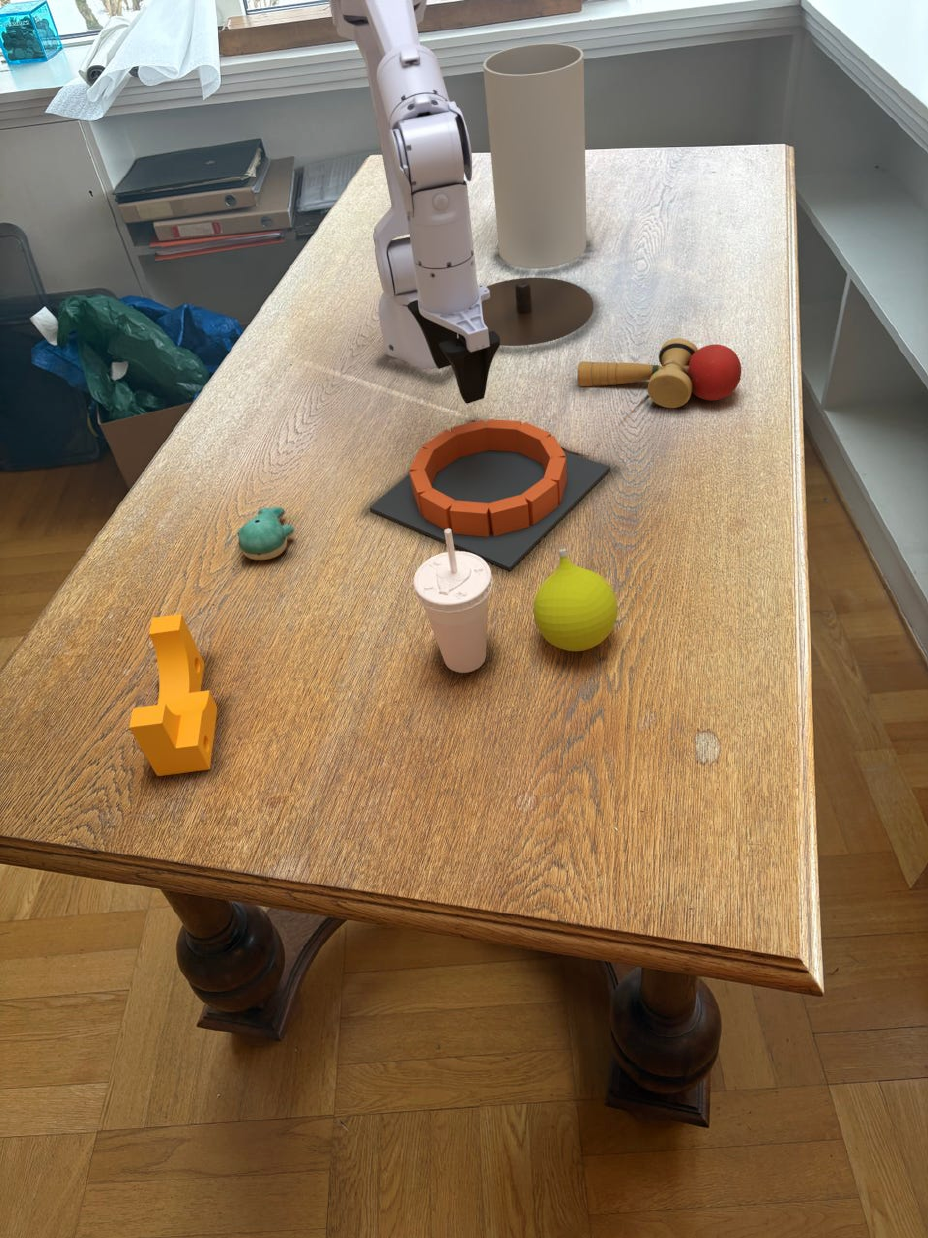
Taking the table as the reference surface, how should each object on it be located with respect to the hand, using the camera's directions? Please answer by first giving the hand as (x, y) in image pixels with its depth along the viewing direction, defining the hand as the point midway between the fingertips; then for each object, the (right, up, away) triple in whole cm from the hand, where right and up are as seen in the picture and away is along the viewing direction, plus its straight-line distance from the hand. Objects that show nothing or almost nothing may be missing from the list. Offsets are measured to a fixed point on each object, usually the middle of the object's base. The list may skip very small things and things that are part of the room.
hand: (459, 381), depth 98 cm
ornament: (+10, -26, -15) cm, 32 cm away
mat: (+3, -11, +1) cm, 12 cm away
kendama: (+22, +1, +10) cm, 25 cm away
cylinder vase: (+12, +28, +38) cm, 49 cm away
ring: (+3, -11, +1) cm, 11 cm away
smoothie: (+1, -28, -15) cm, 32 cm away
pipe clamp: (-23, -33, -16) cm, 43 cm away
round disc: (+8, +15, +26) cm, 31 cm away
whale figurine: (-20, -17, -1) cm, 26 cm away
